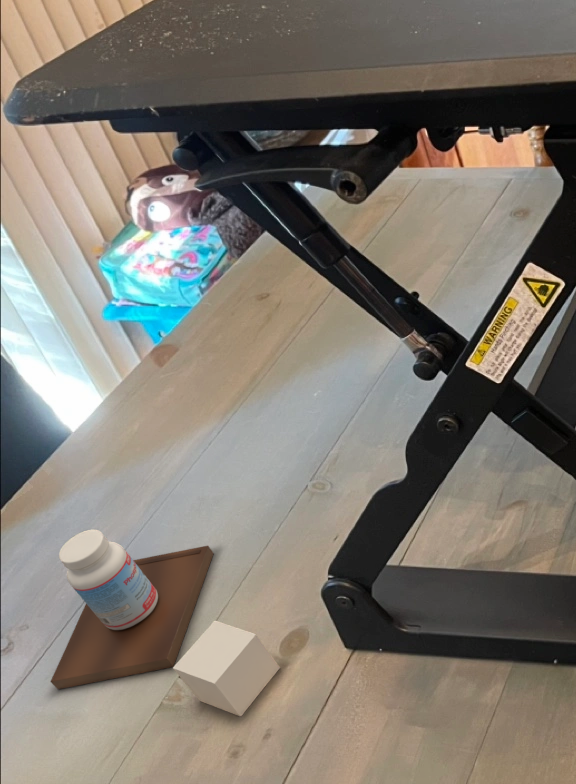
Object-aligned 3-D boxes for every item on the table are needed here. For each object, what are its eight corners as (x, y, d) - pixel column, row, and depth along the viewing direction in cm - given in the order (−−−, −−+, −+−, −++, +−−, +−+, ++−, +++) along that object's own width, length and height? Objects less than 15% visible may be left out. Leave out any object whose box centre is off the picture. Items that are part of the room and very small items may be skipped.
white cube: (239, 653, 115) (214, 619, 112) (280, 667, 113) (256, 633, 109) (199, 701, 111) (172, 667, 108) (240, 717, 109) (214, 683, 105)
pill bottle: (164, 611, 120) (114, 547, 113) (109, 641, 118) (54, 578, 111) (154, 578, 124) (105, 514, 118) (101, 607, 122) (48, 544, 115)
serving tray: (57, 689, 116) (49, 681, 115) (109, 573, 128) (102, 565, 127) (173, 667, 115) (166, 658, 114) (213, 553, 128) (208, 544, 127)
